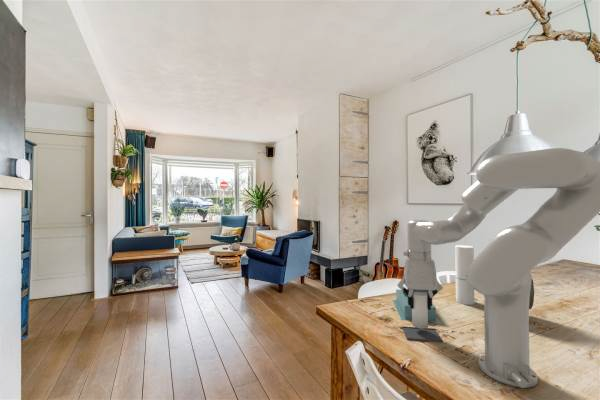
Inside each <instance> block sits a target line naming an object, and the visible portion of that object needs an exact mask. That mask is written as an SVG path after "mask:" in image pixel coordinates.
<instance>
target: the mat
mask: <svg viewBox="0 0 600 400" xmlns="http://www.w3.org/2000/svg"><path fill="white" fill-rule="evenodd" d="M401 329H402V331H403V333H404V335H405V338H406V341H417V342H419V341H420V342H434V343H443V342H444V340H443V339H442V337H441V336H440V334H439V332H438V331H437V329H436V328H430V327H428V328H426V329H420V328H416V327H414V326H401Z"/></svg>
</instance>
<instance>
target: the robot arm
mask: <svg viewBox="0 0 600 400" xmlns="http://www.w3.org/2000/svg"><path fill="white" fill-rule="evenodd" d="M476 179H477V180H476V181H474V182H473V184H471V185H470V186H469V187H468V188H466V189H465V190H464V191H463V192H462V194H461V196H460V198H461V201H462V202H463V203H462V205H461V207H460V209H458V210H457V211H456V212H455V213H454V214H453V215H452V216H451V217H450V218H448V219H446V220H437V221H436V220H435V221H434V220H433V221H429V220H426V219H425V220H424V219H413V220H409V221H408V222H407V227H406V228H407V249H406V251H403V252H402V253H403V256H405V257H406V258H405V263H404V268H403V277H402V279H401V280H400V281H399V282H398V283H397V284H396V285H397V288H398V289H399V290H403V291H404V292H405V293H406V294H407V295H408V305H409V306H410V307H411V309H413V297H412V293H413V290H427V291H428V309H429V310H431V306H432V304H433V299H434V297H435V295H437V294H438V293H439V292H440V291H442V290H443V288H444V287H443V286H442V285H441V284H440V282H439V281H438V279H437V278H438V277H437V269H436V263H435V260H434V259H432V245H433V246H434V245H435V246H437V245H438V246H440V245H445V244H451V243H456V242H458V241H460V240H462V239H463V238H464V237H466V236H467V235H468V234H471V232H473V231H474V230H475V229H476V228H477V227H479V225H480V224H481V223H482V221H484V219H485V218H486V217H487V215H488V214H489V213H491V212H492V210H494V209H495V208H497V207H498V206H499V205H501V204H502V203H504V201H505V200H507V199H508V198H509V197H510V196H512V195H513V194H514V193H515V192H517V191H518V190H521V189H522V190H527V189H530V190H531V189H555V190H556V191H555V192H554V194H552V196H551V197H550V198H548V199H547V200H546V201H545V202H544V203H543V204H541V206H540V207H539V208H538V209H537V210H536V211H535V212H534V214H532V215H531V217H530V218H528V220H526V221H525V222H523V223H521V224H515V225H512V226H509V227H506V228H504V229H502V231H500V232H499V233H498V234H497V235H495V236H494V238H492V240H491V241H490V242H489V243H488V244H487V245H486V246H485V247H484V248H483V250H482V251H481V252H480V253H478V255H477V256H476V257H474V261H473V262H472V263H471V265H470V267H469V269H468V279H469V282H470V284H471V286H472V287H473V288H474V291H476V292H477V293H479V294H480V295H483V296H484V295H485V298H484V300H483V301H484V303H483V306H484V307H483V308H484V309H483V311H484V312H483V317H484V319H483V320H484V321H483V322H484V323H483V325H484V328H483V330H484V331H483V332H484V333H483V334H484V355H481V356H480V357H478V358H477V359H478V360H477V364H478V367H479V369H480V370H481V371H482V372H483V373H484V374H486V375H487V376H488V377H490V378H491V379H493V380H495V381H497V382H500V383H502V384H505V385H507V386H511V387H517V388H521V389H525V388H532V387H533V388H534V387H535V386H537V384H538V382H539V376H538V375H537V373H536V372H535V370H533V369H532V368H531V367H530V366H531V364H530V309H529V297H530V289H531V281H532V280H533V277H532V272H531V271H532V270H533V269H534V268H535V267H537V266H538V265H540V264H543V263H545V262H548V261H550V260H551V259H553V258H554V257H555V256H557V254H558V253H559V252H560V250H562V249H563V248H564V247H565V246H566V245H567V244H569V242H570V241H571V240H572V239H574V238H575V237H576V236H577V235H578V234H579V233H580V232H581V231H582V230H583V229H584V228H585V226H587V225H588V224H589V223H590V222H591V221H592V220H593V219H594V218H596V217H597V215H598V214H599V213H600V161H599V160H598V159H597V158H595V157H594V156H593V155H591V154H589V153H586V152H583V151H578V150H575V149H571V148H564V147H562V148H561V147H556V148H555V147H554V148H545V149H544V148H543V149H537V150H529V151H522V152H520V151H519V152H515V153H513V152H512V153H506V154H503V153H502V154H496V155H493V156H490V157H487V158H485V159H484V160H483V161H482V162H481V163H480V164H479V165H478V167H477V169H476Z"/></svg>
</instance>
